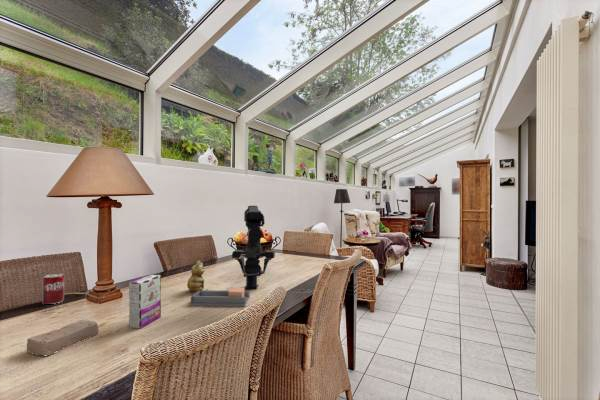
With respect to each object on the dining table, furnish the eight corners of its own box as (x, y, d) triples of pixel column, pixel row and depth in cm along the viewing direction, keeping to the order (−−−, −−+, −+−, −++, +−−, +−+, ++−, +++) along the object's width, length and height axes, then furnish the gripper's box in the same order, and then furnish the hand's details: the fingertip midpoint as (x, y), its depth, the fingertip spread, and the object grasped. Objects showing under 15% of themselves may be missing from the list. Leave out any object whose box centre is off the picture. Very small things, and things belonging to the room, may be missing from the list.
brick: (82, 330, 101) (82, 317, 101) (100, 334, 98) (100, 320, 98) (24, 354, 85) (24, 338, 85) (44, 359, 82) (44, 343, 82)
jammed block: (231, 296, 133) (231, 287, 133) (244, 296, 133) (244, 287, 133) (228, 300, 127) (228, 291, 127) (241, 300, 127) (241, 291, 127)
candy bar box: (150, 315, 114) (150, 274, 114) (161, 317, 113) (161, 275, 113) (127, 328, 103) (128, 281, 103) (139, 329, 102) (140, 282, 102)
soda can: (67, 301, 129) (67, 274, 129) (47, 306, 122) (48, 278, 122) (58, 298, 132) (58, 272, 132) (38, 303, 125) (39, 276, 125)
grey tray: (199, 296, 137) (199, 289, 137) (249, 297, 136) (249, 290, 136) (189, 305, 125) (189, 297, 125) (244, 306, 124) (245, 298, 124)
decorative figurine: (204, 292, 142) (205, 262, 142) (186, 294, 140) (187, 263, 140) (204, 287, 151) (204, 258, 152) (187, 288, 149) (187, 259, 149)
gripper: (228, 240, 123) (228, 277, 122) (272, 241, 122) (271, 278, 122) (235, 237, 134) (235, 271, 133) (275, 238, 133) (275, 272, 133)
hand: (253, 273), depth 130 cm, fingers open, 9 cm apart
